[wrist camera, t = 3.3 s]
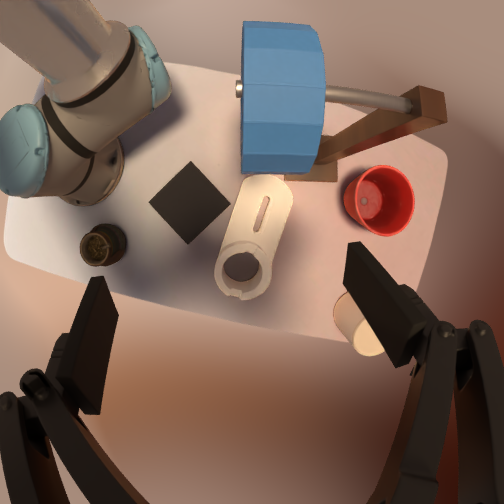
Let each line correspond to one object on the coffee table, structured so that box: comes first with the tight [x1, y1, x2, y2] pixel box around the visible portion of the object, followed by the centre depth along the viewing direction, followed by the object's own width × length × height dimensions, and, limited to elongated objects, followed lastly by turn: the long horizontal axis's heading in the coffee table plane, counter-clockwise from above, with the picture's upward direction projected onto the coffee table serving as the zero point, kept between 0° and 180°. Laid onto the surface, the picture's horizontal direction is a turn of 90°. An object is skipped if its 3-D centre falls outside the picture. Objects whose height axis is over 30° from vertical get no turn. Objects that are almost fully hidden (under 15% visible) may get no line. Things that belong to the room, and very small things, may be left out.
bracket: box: [214, 174, 293, 300], centre depth 49 cm, size 20×9×7 cm, turn 161°
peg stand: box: [236, 80, 447, 182], centre depth 34 cm, size 17×8×35 cm, turn 90°
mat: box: [149, 161, 230, 244], centre depth 51 cm, size 10×10×1 cm
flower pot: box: [344, 165, 415, 236], centre depth 48 cm, size 11×11×10 cm
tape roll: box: [241, 21, 326, 175], centre depth 20 cm, size 4×11×11 cm, turn 0°
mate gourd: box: [80, 224, 126, 266], centre depth 47 cm, size 7×8×10 cm
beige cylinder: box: [333, 292, 385, 356], centre depth 51 cm, size 11×9×10 cm
